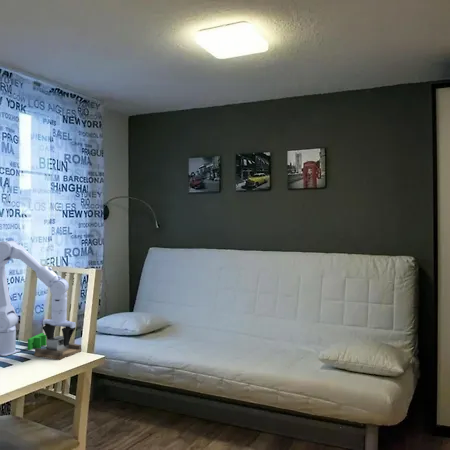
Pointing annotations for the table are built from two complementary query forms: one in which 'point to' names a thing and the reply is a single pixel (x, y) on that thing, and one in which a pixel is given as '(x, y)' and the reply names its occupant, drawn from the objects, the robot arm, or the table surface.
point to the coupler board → (58, 352)
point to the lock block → (57, 344)
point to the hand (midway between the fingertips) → (58, 344)
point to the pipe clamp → (37, 341)
